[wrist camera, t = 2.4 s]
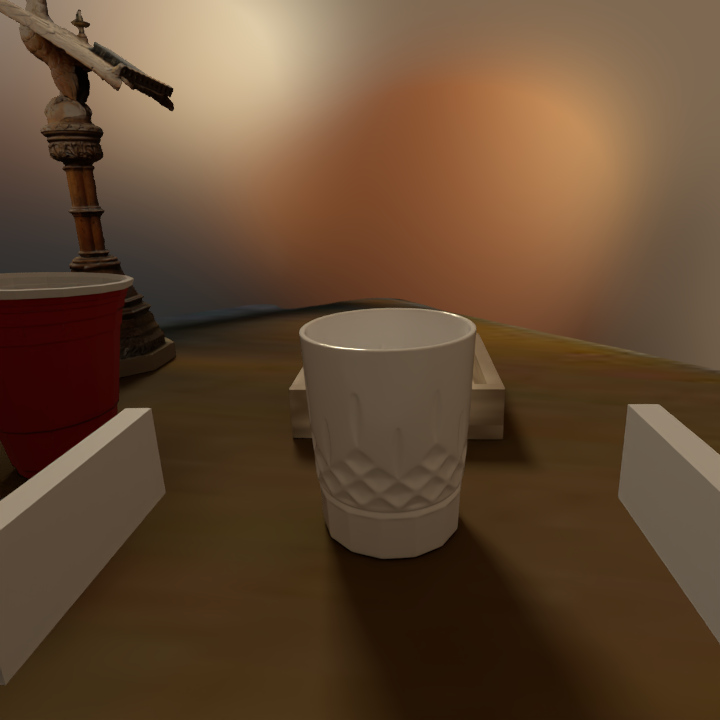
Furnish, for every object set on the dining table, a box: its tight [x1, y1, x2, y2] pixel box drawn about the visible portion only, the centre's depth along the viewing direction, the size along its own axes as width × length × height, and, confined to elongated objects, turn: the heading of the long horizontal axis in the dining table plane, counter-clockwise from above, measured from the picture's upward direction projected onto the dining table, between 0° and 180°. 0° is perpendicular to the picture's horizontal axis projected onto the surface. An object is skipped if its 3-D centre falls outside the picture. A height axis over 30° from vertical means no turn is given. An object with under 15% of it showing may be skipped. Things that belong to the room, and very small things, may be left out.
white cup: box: [299, 308, 476, 559], centre depth 25 cm, size 8×8×10 cm
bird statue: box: [0, 0, 176, 378], centre depth 50 cm, size 17×13×35 cm
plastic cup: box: [0, 272, 133, 479], centre depth 33 cm, size 11×11×12 cm
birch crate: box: [289, 334, 505, 439], centre depth 41 cm, size 14×14×4 cm
